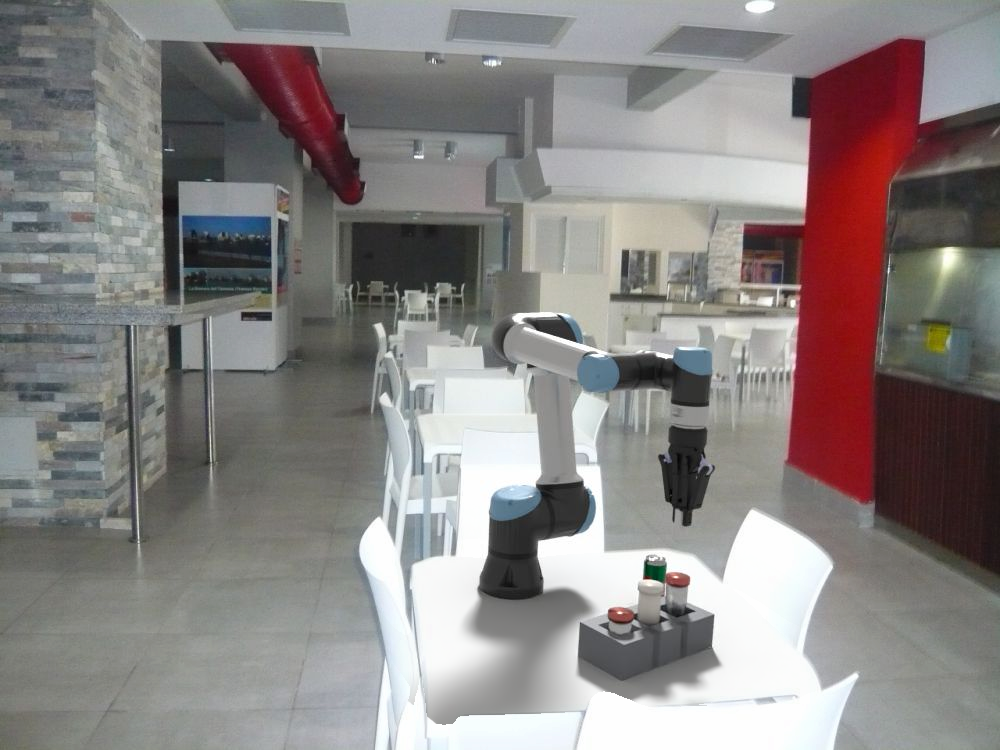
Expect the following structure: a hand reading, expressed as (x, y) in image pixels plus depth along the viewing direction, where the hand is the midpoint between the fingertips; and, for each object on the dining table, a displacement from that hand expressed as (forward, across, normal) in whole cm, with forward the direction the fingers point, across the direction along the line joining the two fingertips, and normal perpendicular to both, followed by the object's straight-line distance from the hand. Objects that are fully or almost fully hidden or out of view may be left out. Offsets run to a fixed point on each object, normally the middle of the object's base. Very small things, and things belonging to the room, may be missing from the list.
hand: (680, 540), depth 177 cm
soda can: (+22, -14, +9) cm, 28 cm away
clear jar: (+17, 0, 0) cm, 17 cm away
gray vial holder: (+22, 0, -8) cm, 23 cm away
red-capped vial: (+21, 0, -16) cm, 26 cm away
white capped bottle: (+17, 0, -8) cm, 19 cm away
